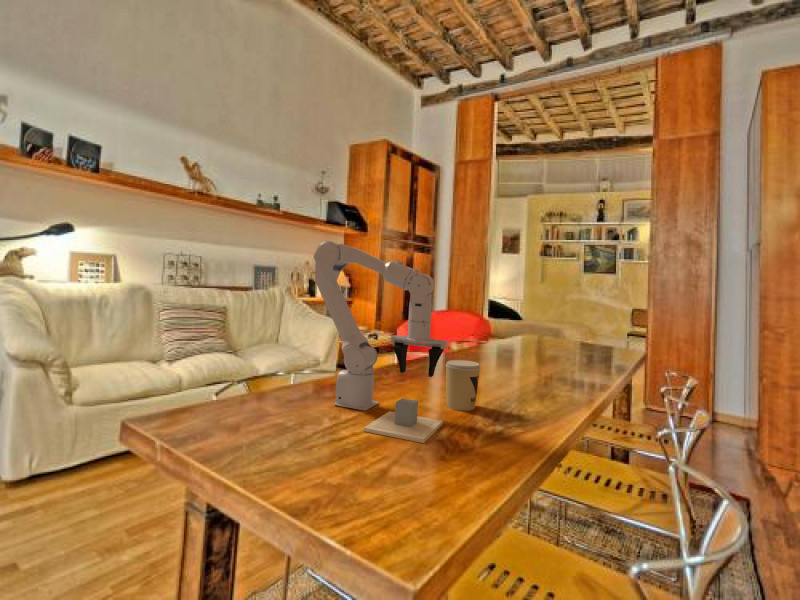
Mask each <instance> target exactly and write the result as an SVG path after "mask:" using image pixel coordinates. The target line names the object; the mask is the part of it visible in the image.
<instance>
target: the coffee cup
mask: <svg viewBox="0 0 800 600" xmlns="http://www.w3.org/2000/svg"><path fill="white" fill-rule="evenodd" d="M445 367H446V368H445V373H446V374H445V385H446V387H445V388H446V389H445V391H446V399H445V400H446V407H447V408H449V409H452V410H456V411H465V412H466V411H472V410H474V409H475V408H476V402H477V401H476V400H477V393H478V387H479V379H480V370H481V366H480V363H478V362H477V361H473V360H465V359H451V360H448V361H446V363H445Z"/></svg>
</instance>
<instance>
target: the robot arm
mask: <svg viewBox="0 0 800 600" xmlns="http://www.w3.org/2000/svg"><path fill="white" fill-rule="evenodd" d="M312 257H313V259H314V262H315V265H314V267H315V269H314V271H315V272H314V281H315V284H316V287H317V288H318V291H319V293H320V295H321V298H322V299H323V302H324V304H325V305H326V308H327V310H328V313H329V315H330V317H331V319H332V321H333V323H334V326H335V328H336V329H337V332H338V335H339V337H340V339H341V341H342V344H341V351H342V354H343V363H344V366H345V369H342V370H340V371H339V372H338V374H337V378H336V382H335V383H336V384H335V402H334V403H333V405H334V406H338V407H343V408H347V409H348V408H350V409H352V410H353V409H354V410H360V411H368V410H369V409H371V408H373V407H375V406H376V405H378V404H379V401H377V400H374V385H375V384H374V383H375V369H374V366H375V364H376V363H377V361H378V357H379V355H378V352H377V350H376V348H375V347H374V346H373V345H372V344H370V342H369V340H368V337H366V336H364V335H363V334H362V331H361V330H360V329H359V326H358V324H357V322H356V319H355V317H354V316H353V315H354V314H353V313H352V311H351V308H350V307H349V305H348V304H349V303H348V302H347V300H346V298H345V296H344V294H343V291H342V290H341V289H342V288H341V287H340V285H339V283H338V279H339V276H340V275H341V272H342V271H343V270H344V268H345V267H347V265H348V264H350V265H351V264H357V265H360V266H363V267H365V268H367V269H370V270H371V271H374V272H376V273H379V274H381V275H382V278H383V281H384V282H386V283H389V284H391V285H393V286H395V287H397V288H400V289H402V290H404V291H408V293H410V295H409V296H410V297H409V305H408V321H407V322H408V324H407V335H395V334H394V335H391V337H390V344H392V345H393V344H394V345H393V346H392V350H393V352H394V354H395V356H396V359H397V362H398V365H399V373H401V374H403V373H406V370H407V355H408V349H409V346H414V347H415V346H416V347H423V348H424V347H425V348H429V349H428V360H429V362H428V378H432V377H434V374H435V370H436V366H437V364H438V362H439V360H440V357H441V356H442V354H443V352H444V350H447V348H448V340H445V339H444V340H443V339H437V338H436V339H435V338H431V325H432V310H433V304H432V300H433V295H432V294H433V292H434V290H435V281H434V279H433V277H431V276H430V275H429V274H428V273H420V269H419V268H412V267H409V266H407V265H404V261H401V260H399V259H398V260H391V261H387V262H386V261H384V260H382V259H379V258H378V257H377V256H374V255H372V254H370V253H368V252H365V250H362V249H359V248H357V247H353V246H349V245H346V244H343V243H337V242H333V241H329V240H325V241H321V242H320V243H319V244H318V245H317V248H316V250H315V252H314V254H313V256H312Z"/></svg>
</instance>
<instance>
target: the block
mask: <svg viewBox="0 0 800 600" xmlns="http://www.w3.org/2000/svg"><path fill="white" fill-rule="evenodd" d="M418 409H419V400H414V399H408V398H400V399H399V400H398V401H396V402H395V408H394V412H395V424H397V425H402V426H407V427H412V426H413V425H414V424H415V423H417V416H418V411H419V410H418Z"/></svg>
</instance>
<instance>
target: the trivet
mask: <svg viewBox="0 0 800 600" xmlns="http://www.w3.org/2000/svg"><path fill="white" fill-rule="evenodd" d="M443 424H444V420H442V419H436V418H435V419H434V418H431V417H424V416H419V415H417V423H415V424H414V425H413V426H412V427H407V426H402V425H397V424H395V411H391V410H389V411H387V412H386V413H385V414H383V415H381V416H379V417H378V418H377V419H375V420H374V421H372V422H371V423H369V424H367V425H366V426H364V427H363V432H365V433H371V434H376V435H381V436H385V437H386V436H387V437H390V438H396V439H402V440H406V441H411V442H417V443H422V444H425V443H426V442H427V441H428V439H429V438H430V437H432V436H433V434H435V432H436V431H437V430H439V429H440V427H442V425H443Z"/></svg>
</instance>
